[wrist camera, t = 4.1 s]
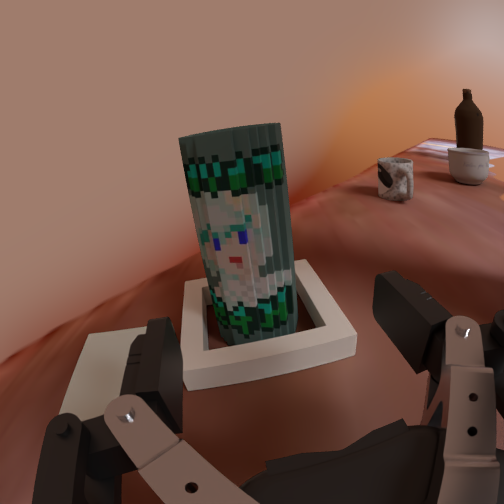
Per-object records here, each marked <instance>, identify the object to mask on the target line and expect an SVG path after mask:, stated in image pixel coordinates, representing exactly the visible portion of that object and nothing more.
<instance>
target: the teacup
mask: <svg viewBox="0 0 504 504" xmlns="http://www.w3.org/2000/svg"><path fill="white" fill-rule="evenodd" d="M448 158H449V170H450V173H451V175H452V176H453V177H454V178H455V180H456V181H458V182H460V183H464V184H472V185H476V184H481V183H482V182H483V181H484V180H485V179H486V178H487V176H488V169H489V152H487V151H484V150H477V149H469V148H448Z"/></svg>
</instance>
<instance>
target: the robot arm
mask: <svg viewBox="0 0 504 504" xmlns="http://www.w3.org/2000/svg"><path fill="white" fill-rule="evenodd" d="M373 314H374V317H375V320H376V321H377V323H378V324H379V325H380V326H381V328H382V329H383V330H384V332H385V333H386V334H387V335H388V337H389V338H390V339H391V341H392V342H393V343H394V345H395V346H396V347H397V349H398V350H399V351H400V352H401V354H402V355H403V356H404V358H405V359H406V360H407V362H408V363H409V364H410V366H411V367H412V369H413V370H414V371H415V373H416V374H418V373H420V372H423V371H425V370H428V371H429V376H428V379H427V388H426V396H425V403H424V410H423V416H422V420H421V423H420V425H414V426H407V425H406V423H405V421H404V420H403V418H402V419H400V420H398V421H395V422H393V423H391V424H388V425H386V426H383V427H381V428H378V429H376V430H373V431H371V432H370V433H368V434H367V435H365V436H364V437H362V438H361V439H359V440H358V441H356V442H355V443H353V444H351V445H350V446H348V447H346V448H345V449H343V450H339V451H328V452H314V453H300V454H296V455H292V456H288V457H284V458H279V459H274V460H269V461H265V462H266V467H267V470H265V471H263V472H261V473H259V474H257V475H255V476H253V477H252V478H250V479H249V480H247V481H246V482H245V483H244V484H242V485H241V486H240V487H239V488H238V487H237V486H236V485H235V484H233V483H232V482H231V481H230V480H228V479H227V478H226V477H225V476H224V475H222V474H221V473H220V472H219V471H218V470H217V469H215V468H214V467H213V466H212V465H211V464H210V463H209V462H207V461H206V460H205V459H204V458H203V457H202V456H201V455H200V454H199V453H198V452H196V451H195V450H194V449H193V448H192V447H191V446H190V445H189V444H188V443H187V442H186V441H184V440H183V439H179V438H178V437H177V436H176V435H175V434H177V433H183V428H182V401H183V356H182V351H181V348H180V345H179V342H178V340H177V337H176V334H175V331H174V328H173V326H172V323H171V320H170V318H169V317H163V318H156V319H150V320H149V321H148V324H147V329H146V334H140V335H138V336H137V337H136V338H135V340H134V341H133V342H132V344H131V345H130V350H129V354H128V356H129V357H128V358H127V362H126V364H127V365H126V367H125V371H124V376H123V380H122V385H121V390H120V395H119V397H117V398H115V399H114V400H112V401H111V402H110V403H109V404H108V405H107V407H106V409H105V412H104V414H103V415H101V416H98V417H95V418H91V419H88V420H85V421H81V420H80V419H79V418H78V417H77V416H76V415H75V414H72V413H62V414H59V415H57V416H56V417H54V418H53V419H52V420H51V421H50V423H49V424H48V426H47V429H46V432H45V436H44V441H43V445H42V449H41V454H40V459H39V464H38V469H37V474H36V480H35V486H34V492H33V499H32V504H121V481H122V474H124V473H127V472H131V471H134V470H138V472H139V473H140V475H141V476H142V477H143V478H144V480H145V481H146V482H147V483H148V485H149V486H150V487H151V488H152V489H153V491H154V492H155V493H156V494H157V495H158V496H159V497H160V499H161V500H162V501H163V502H164V503H165V504H504V450H501V449H497V448H496V409H497V410H498V412H499V413H500V414H501V416H502V417H503V419H504V310H501V311H498V312H497V313H496V314H495V316H494V319H493V322H492V323H489V324H482V325H478V324H477V323H476V322H475V321H474V320H473V319H471V318H469V317H466V316H454V317H453V316H452V315H451V314H450V313H449V312H448V311H447V310H446V309H445V308H444V307H443V306H442V305H440V304H439V303H438V302H437V301H436V300H435V299H434V298H432V296H431V295H430V294H428V293H426V291H425V290H424V289H423V288H422V287H421V286H420V285H418V284H417V283H414V282H412V281H410V280H408V279H406V280H405V279H404V278H403V277H402V276H401V275H400V274H399V273H398V272H396V271H395V270H393V271H389V272H385V273H381V274H378V275H376V278H375V286H374V297H373Z"/></svg>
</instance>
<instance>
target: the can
mask: <svg viewBox="0 0 504 504" xmlns="http://www.w3.org/2000/svg"><path fill="white" fill-rule="evenodd" d="M179 145H180V150H181V156H182V161H183V167H184V172H185V178H186V183H187V188H188V193H189V198H190V203H191V208H192V213H193V218H194V223H195V227H196V232H197V237H198V242H199V246H200V251H201V255H202V260H203V264H204V269H205V273H206V277H207V282H208V286H209V290H210V294H211V298H212V302H213V307H214V311H215V315H216V319H217V323H218V327H219V331H220V334H221V337H224V341H227V344H228V345H234V346H235V345H241V344H246V343H251V342H256V341H261V340H266V339H271V338H275V337H280V336H285V335H289V334H294V333H295V331H296V326H297V321H298V308H297V293H296V278H295V265H294V252H293V240H292V229H291V218H290V207H289V197H288V187H287V179H286V178H287V177H286V168H285V160H284V150H283V142H282V134H281V126H280V123H268V124H258V125H248V126H240V127H233V128H227V129H221V130H215V131H209V132H203V133H199V134H193V135H189V136H185V137H181V138H179Z"/></svg>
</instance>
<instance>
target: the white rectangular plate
mask: <svg viewBox="0 0 504 504" xmlns="http://www.w3.org/2000/svg"><path fill="white" fill-rule="evenodd" d="M172 326H173V325H172ZM173 328H174V327H173ZM146 329H147V327H140V328H132V329H125V330H118V331H110V332H102V333H93V334H89V335H88V338H87V340H86V342H85V345H84V347H83V350H82V352H81V355H80V357H79V360H78V362H77V365H76V367H75V370H74V373H73V375H72V378H71V381H70V383H69V386H68V389H67V392H66V395H65V398H64V400H63V403H62V406H61V409H60V413H59V414H62V413H72V414H75V415H76V416H77V417H78V418H79V419H80V420H81V421H85V420H88V419H91V418H95V417H98V416H101V415H103V414H104V412H105V409H106V407H107V405H108V404H109V403H110V402H111V401H112V400H114V399H115V398H117V397H119V395H120V390H121V385H122V380H123V376H124V371H125V367H126V365H127V364H126V362H127V358H128V357H129V356H128V354H129V350H130V345H131V344H132V342H133V341H134V340H135V338H136V337H137V336H138V335H140V334H146ZM174 331H175V330H174Z"/></svg>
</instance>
